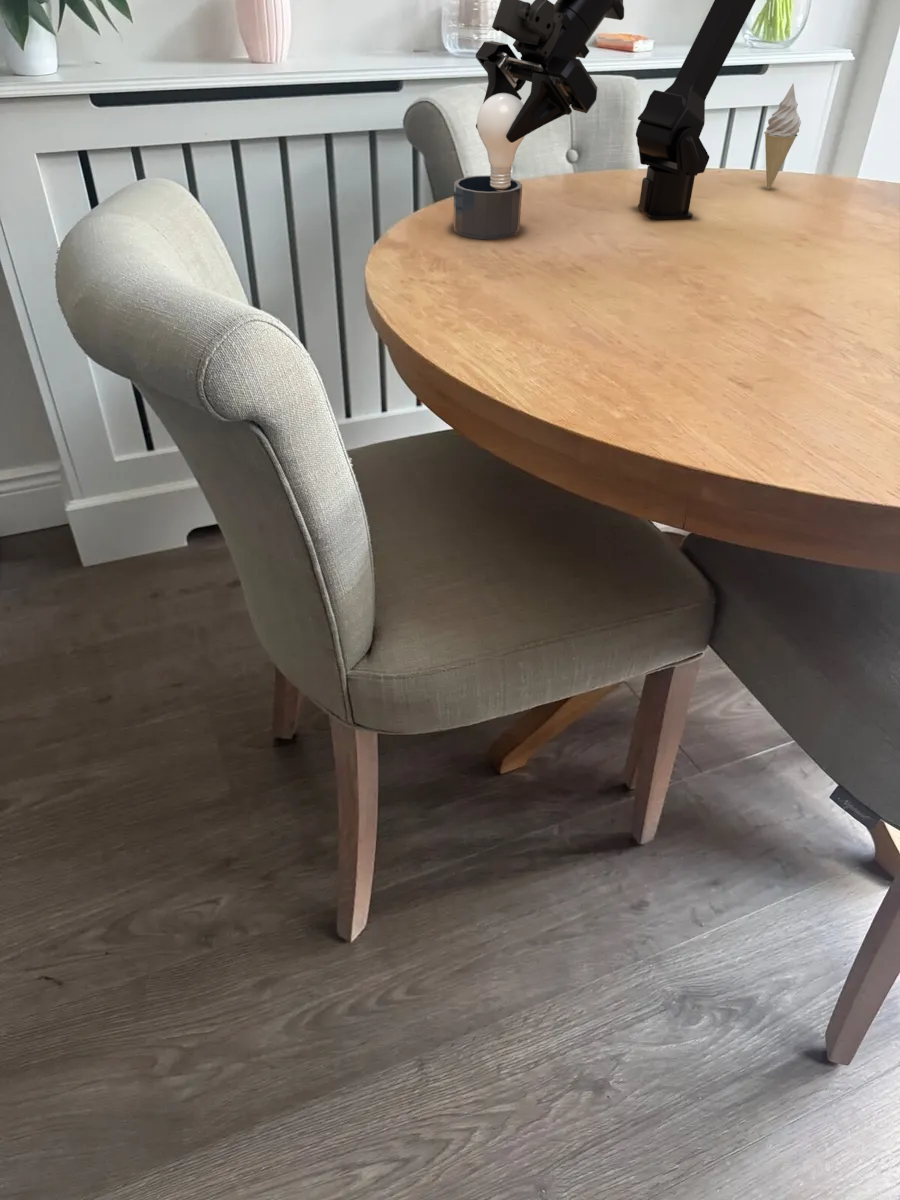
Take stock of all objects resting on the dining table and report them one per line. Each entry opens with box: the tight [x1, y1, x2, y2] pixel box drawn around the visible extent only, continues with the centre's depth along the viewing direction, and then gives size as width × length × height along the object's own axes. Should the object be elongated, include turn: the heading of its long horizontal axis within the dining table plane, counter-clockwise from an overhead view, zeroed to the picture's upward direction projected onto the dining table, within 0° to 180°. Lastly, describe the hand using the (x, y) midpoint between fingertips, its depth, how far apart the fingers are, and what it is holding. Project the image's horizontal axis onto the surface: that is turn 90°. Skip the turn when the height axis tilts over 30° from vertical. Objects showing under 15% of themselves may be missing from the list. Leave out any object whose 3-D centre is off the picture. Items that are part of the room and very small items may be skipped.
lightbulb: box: [476, 93, 526, 191], centre depth 109 cm, size 6×6×11 cm
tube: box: [452, 174, 523, 241], centre depth 121 cm, size 9×9×6 cm
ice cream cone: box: [763, 83, 802, 190], centre depth 137 cm, size 5×5×15 cm
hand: (493, 134), depth 108 cm, fingers closed on lightbulb, 6 cm apart
